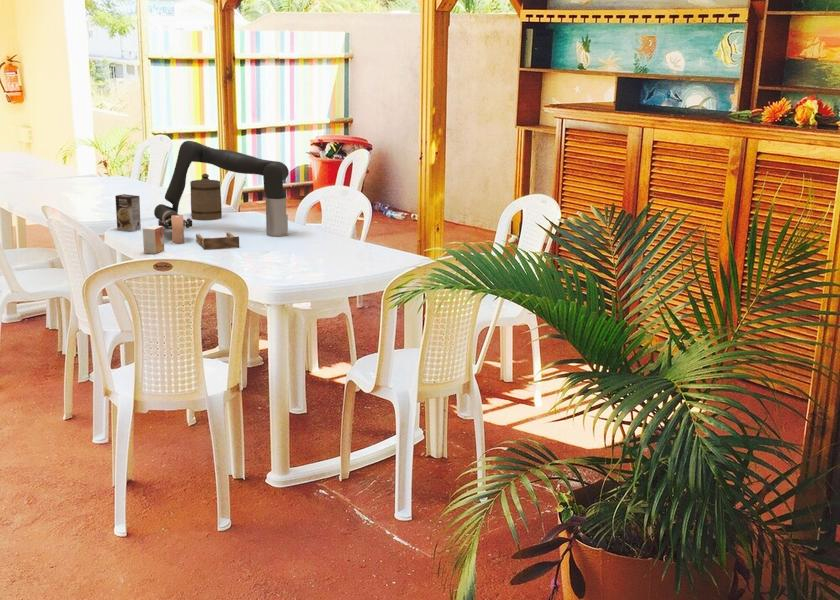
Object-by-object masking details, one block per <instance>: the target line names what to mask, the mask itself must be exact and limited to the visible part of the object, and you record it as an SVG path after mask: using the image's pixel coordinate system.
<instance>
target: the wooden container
mask: <svg viewBox="0 0 840 600" xmlns="http://www.w3.org/2000/svg"><path fill="white" fill-rule="evenodd" d="M209 177H210V176H209V174H208V173H203V174H201V179H195V180H191V181H190V182H189V183H190V185H189V186H190V213H191V219H193V220H197V221H214V220H220V219H221V218H223V217H222V216H223V213H222V192H221V181H220V180H217V179H216V180H215V179H210V178H209Z"/></svg>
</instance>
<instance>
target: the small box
mask: <svg viewBox="0 0 840 600" xmlns="http://www.w3.org/2000/svg"><path fill="white" fill-rule="evenodd" d="M142 237H143V253H144V254H152V255H156V254H159V253H160V251H161V252H163V250H164V251H165V234H164V227H163V226H159V225H149V226H147V227H144V228H142ZM158 252H159V253H158Z"/></svg>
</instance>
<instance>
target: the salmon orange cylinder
mask: <svg viewBox="0 0 840 600" xmlns="http://www.w3.org/2000/svg"><path fill="white" fill-rule="evenodd" d="M183 219H184V215H183V214H178V215H172V216H171V221H172V229H171V238H172V240H171V241H172V244H173V243H175V244H174V245H182V243H183V244H184V243H185V232H184V231H185V227H184V225H183Z"/></svg>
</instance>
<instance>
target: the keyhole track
mask: <svg viewBox="0 0 840 600" xmlns="http://www.w3.org/2000/svg"><path fill="white" fill-rule="evenodd" d="M195 237H196V238H195V239H196V243H197V244H199V246H200V247H201V248H202V249H203V250H206V251H207V250H218V249H232V248H231V247H237V248H240V237H239V236H235V235H234V234H232V233H231V232H226V236H225V237H203V236H202V235H201V234H200V233H199V234H198V233H196V234H195Z"/></svg>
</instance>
